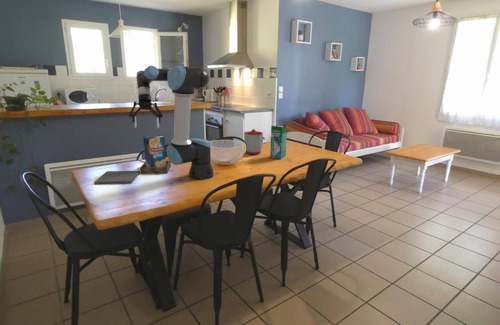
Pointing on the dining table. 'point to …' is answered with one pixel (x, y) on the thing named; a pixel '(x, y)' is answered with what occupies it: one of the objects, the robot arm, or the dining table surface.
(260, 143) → the citrus juicer
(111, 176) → the charcoal mat
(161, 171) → the walnut holder
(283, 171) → the dining table surface
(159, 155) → the beverage box
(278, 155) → the milk carton
